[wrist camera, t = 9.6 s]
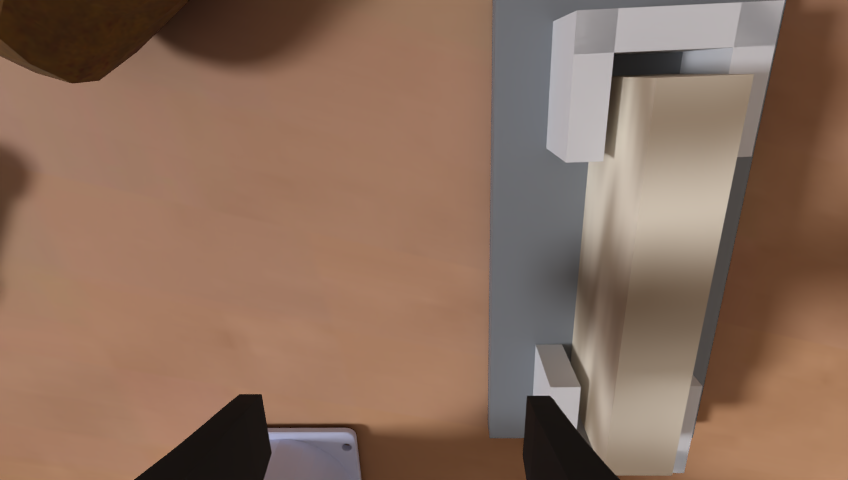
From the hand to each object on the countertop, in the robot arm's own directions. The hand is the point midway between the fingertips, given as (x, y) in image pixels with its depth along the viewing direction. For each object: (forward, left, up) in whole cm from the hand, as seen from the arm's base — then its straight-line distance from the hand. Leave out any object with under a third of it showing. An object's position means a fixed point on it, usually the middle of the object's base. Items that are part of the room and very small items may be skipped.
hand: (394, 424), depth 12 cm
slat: (+2, -8, -8) cm, 12 cm away
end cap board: (+1, -9, -9) cm, 13 cm away
